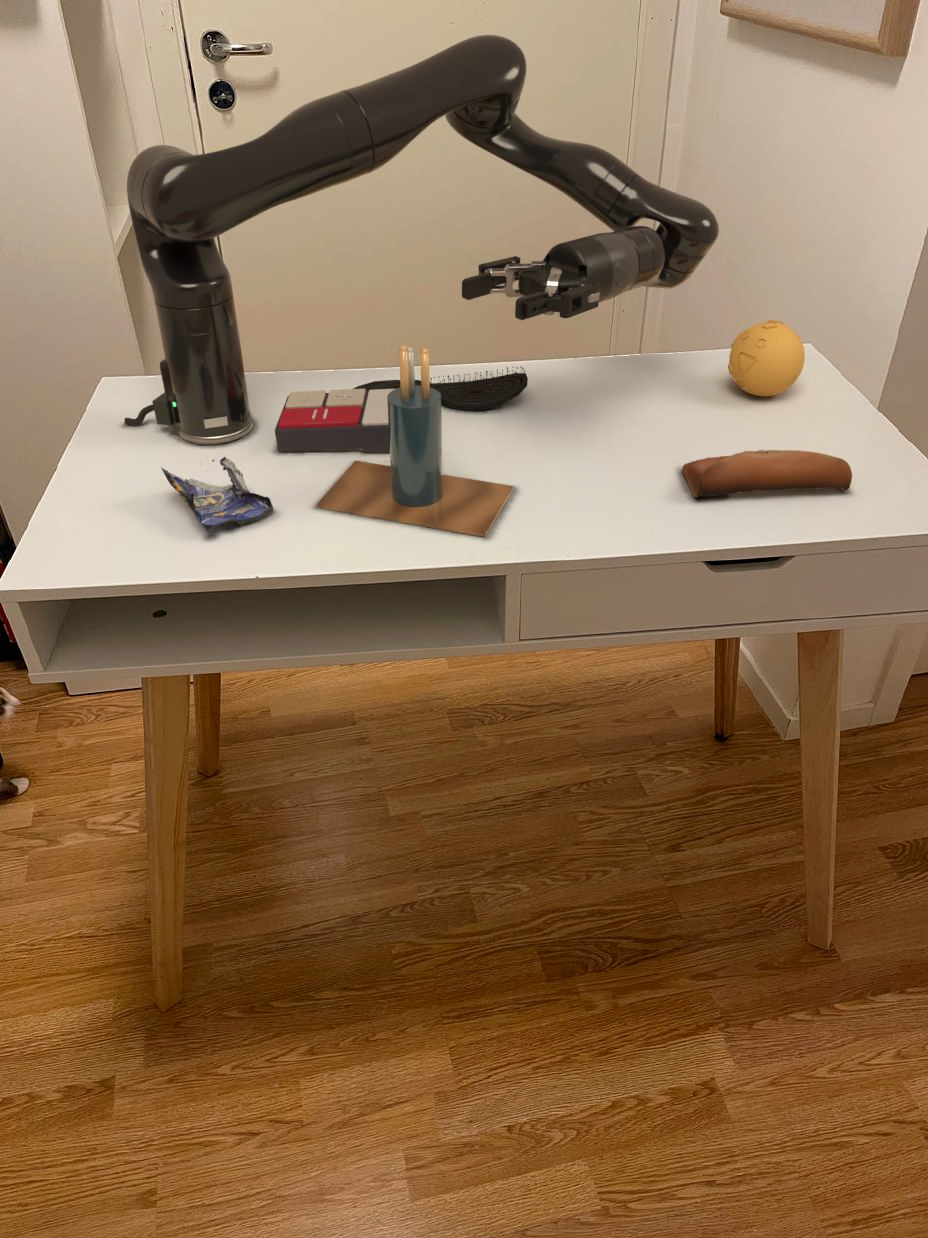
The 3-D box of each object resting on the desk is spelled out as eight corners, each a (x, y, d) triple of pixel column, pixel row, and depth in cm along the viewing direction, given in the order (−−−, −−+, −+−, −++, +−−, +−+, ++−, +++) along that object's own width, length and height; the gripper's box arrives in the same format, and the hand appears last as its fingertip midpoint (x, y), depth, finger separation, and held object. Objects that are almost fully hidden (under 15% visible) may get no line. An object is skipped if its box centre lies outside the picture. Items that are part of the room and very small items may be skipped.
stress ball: (790, 380, 138) (805, 311, 132) (801, 410, 130) (818, 337, 124) (719, 377, 139) (731, 308, 133) (726, 406, 131) (739, 334, 125)
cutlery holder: (381, 493, 111) (373, 341, 100) (420, 477, 114) (416, 328, 103) (413, 512, 107) (408, 357, 96) (453, 495, 110) (451, 343, 100)
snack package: (268, 479, 115) (167, 487, 112) (264, 434, 110) (158, 441, 108) (277, 546, 107) (168, 556, 104) (273, 501, 102) (159, 510, 100)
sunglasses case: (820, 457, 118) (843, 426, 112) (834, 507, 115) (858, 479, 109) (677, 464, 116) (692, 433, 110) (687, 516, 114) (703, 487, 107)
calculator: (286, 388, 126) (400, 383, 126) (292, 418, 129) (403, 414, 128) (272, 425, 118) (395, 420, 117) (278, 457, 120) (398, 452, 120)
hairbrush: (346, 367, 134) (526, 358, 134) (349, 391, 136) (526, 383, 136) (340, 392, 128) (529, 382, 127) (344, 417, 130) (530, 408, 129)
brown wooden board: (316, 507, 109) (316, 503, 109) (355, 463, 117) (355, 460, 117) (485, 537, 104) (485, 533, 104) (513, 489, 112) (513, 485, 112)
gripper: (634, 317, 111) (534, 352, 102) (546, 287, 120) (446, 316, 111) (641, 250, 107) (538, 280, 98) (549, 223, 115) (446, 249, 106)
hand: (489, 299), depth 104 cm, fingers open, 8 cm apart
